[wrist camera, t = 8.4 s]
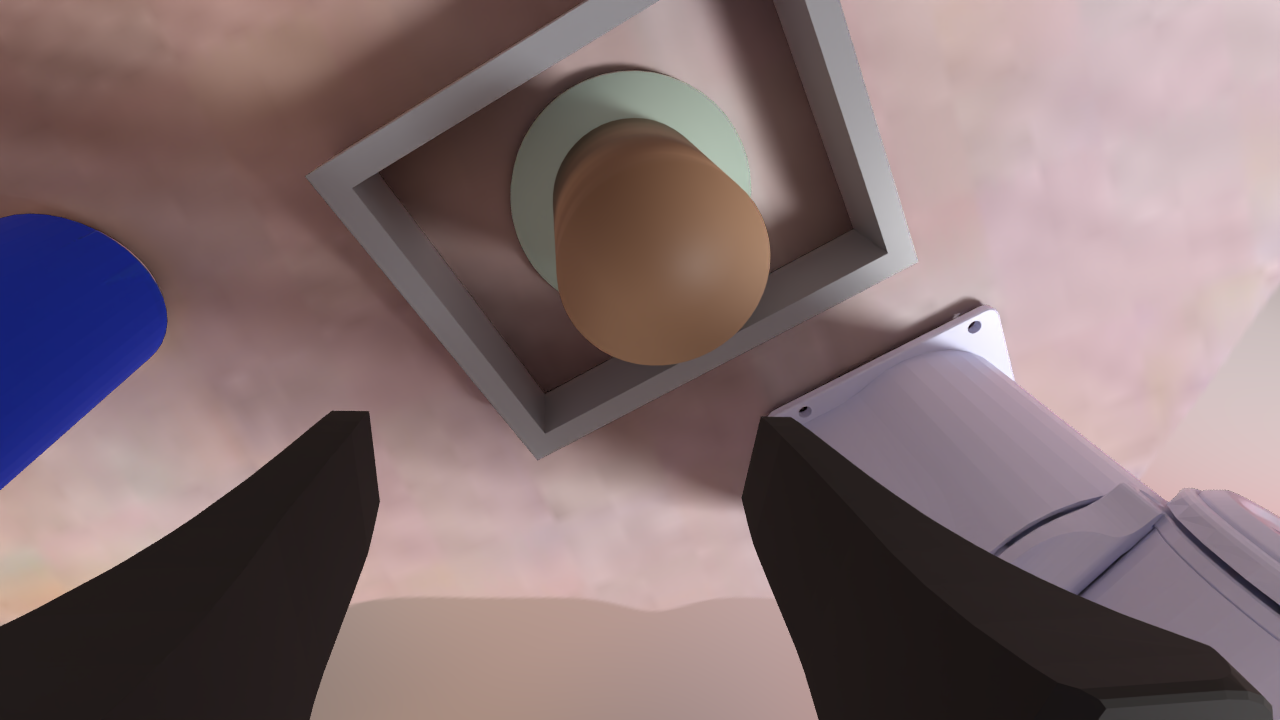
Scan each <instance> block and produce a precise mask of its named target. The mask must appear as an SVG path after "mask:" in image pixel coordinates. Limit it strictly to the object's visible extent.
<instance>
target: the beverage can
mask: <svg viewBox="0 0 1280 720" xmlns="http://www.w3.org/2000/svg"><path fill="white" fill-rule="evenodd" d="M166 328H167V310H166V306H165V302H164V299H163V296H162V293H161V291H160V289H159V287H158V285H157V282H156V280H155V279H154V277H153V276H152V274H151V273H150V271H149V270H148V268H147V267H146V266H145V265H144V264H143V263H142V261H141V260H140V259H139V258H138V257H137V256H136V255H134V254H133V253H132V252H131V251H130V250H129V249H127V248H126V247H125V246H123V245H122V244H121V243H119V242H118V241H116V240H114V239H113V238H111V237H109V236H107V235H105V234H104V233H102V232H100V231H98V230H95V229H93V228H91V227H89V226H86V225H84V224H82V223H79V222H76V221H72V220H69V219H66V218H62V217H57V216H51V215H44V214H18V215H11V216H7V217H3V218H0V490H1V489H2V488H3V487H4V486H6V485H7V484H8V483H9V482H10V481H11V480H12V479H13V478H15V477H16V476H17V475H18V474H19V473H20V472H21V471H23V470H24V469H25V468H26V467H27V466H28V465H29V464H30V463H32V462H33V461H34V460H35V459H36V458H37V457H38V456H39V455H41V454H42V453H43V452H44V451H45V450H46V449H47V448H49V447H50V446H51V445H52V444H53V443H54V442H55V441H56V440H58V439H59V438H60V437H61V436H62V435H63V434H64V433H66V432H67V431H68V430H69V429H70V428H71V427H72V426H73V425H75V424H76V423H77V422H78V421H79V420H80V419H81V418H83V417H84V416H85V415H86V414H87V413H88V412H89V411H90V410H92V409H93V408H94V407H95V406H96V405H97V404H98V403H99V402H101V401H102V400H103V399H104V398H105V397H106V396H107V395H109V394H110V393H111V392H112V391H113V390H114V389H115V388H116V387H118V386H119V385H120V384H121V383H122V382H123V381H124V380H126V379H127V378H128V377H129V376H130V375H131V374H132V373H133V372H135V371H136V370H137V369H138V368H139V367H140V366H141V365H142V364H144V363H145V362H146V361H147V360H148V359H149V358H150V357H151V356H152V355H153V354H154V353H155V352H156V351H157V350H158V348H159V347H160V345H161V344H162V342H163V339H164V336H165V334H166Z"/></svg>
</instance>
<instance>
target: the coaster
mask: <svg viewBox="0 0 1280 720" xmlns="http://www.w3.org/2000/svg"><path fill="white" fill-rule="evenodd" d="M626 118H643V119H649V120H654V121H657V122H660V123H663V124H665V125H667V126H669V127H671V128H673V129H675V130H676V131H678V132H679V133H680V134H682V135H683V136H684V137H685V138H687V139H688V140H689V141H690V142H691V143H692V144H693V145H694V146H695V147H697V148H698V149H699V150H700V151H701V152H702V153H703V154H704V155H706V156H707V157H708V158H709V159H710V160H711V161H712V162H713V163H714V164H716V165H717V166H718V167H719V168H720V169H721V170H722V171H723V172H725V173H726V174H727V175H728V176H729V177H730V178H731V179H732V180H733V181H735V182H736V183H737V184H738V185H739V186H740V187H741V188H742V189H743V190H744V191H745V192H746V193H747V194H748V195H749V197H750V198H751V180H750V170H749V165H748V160H747V156H746V153H745V150H744V147H743V145H742V142H741V140H740V138H739V136H738V134H737V132H736V130H735V128H734V127H733V125H732V124H731V122H730V121H729V119H728V118H727V116H726V115H725V114H724V113H723V112H722V111H721V110H720V108H719V107H718V106H717V105H716V104H715V103H714V102H713V101H711V100H710V99H709V98H708V97H707V96H705V95H704V94H703V93H702V92H700V91H698V90H697V89H695V88H693V87H692V86H690V85H688V84H687V83H685V82H682V81H680V80H678V79H675V78H673V77H670V76H667V75H663V74H659V73H655V72H650V71H640V70H626V71H615V72H610V73H605V74H601V75H598V76H595V77H592V78H589V79H586V80H584V81H582V82H580V83H578V84H576V85H574V86H572V87H570V88H569V89H568V90H566V91H565V92H563V93H562V94H560V95H559V96H558V97H556V98H555V99H554V100H553V101H552V102H551V103H550V104H549V105H548V106H547V107H546V108H544V110H543V111H542V112H541V113H540V114H539V116H538V117H537V118H536V119H535V121H534V122H533V123H532V125H531V127H530V128H529V130H528V132H527V133H526V135H525V137H524V139H523V141H522V144H521V146H520V148H519V151H518V153H517V157H516V160H515V164H514V168H513V173H512V181H511V211H512V219H513V223H514V227H515V230H516V234H517V237H518V239H519V242H520V244H521V246H522V249H523V251H524V252H525V254H526V256H527V258H528V259H529V261H530V263H531V264H532V265H533V267H534V268H535V269H536V270H537V272H538V273H539V274H540V275H541V276H542V277H543V278H544V279H545V280H546V281H547V282H548V283H549V284H550V285H551V286H552V287H553V288H555V289H556V290H557V291H559V290H558V283H557V274H556V255H555V236H554V217H553V190H554V183H555V179H556V176H557V172H558V170H559V168H560V166H561V163H562V161H563V160H564V158H565V156H566V155H567V153H568V152H569V151H570V149H571V148H572V147H573V146H574V144H575V143H576V142H578V141H579V140H580V139H581V138H582V137H583V136H584V135H586V134H587V133H588V132H590V131H591V130H593V129H595V128H597V127H599V126H600V125H603V124H605V123H608V122H611V121H615V120H619V119H626Z"/></svg>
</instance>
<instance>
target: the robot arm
mask: <svg viewBox="0 0 1280 720" xmlns="http://www.w3.org/2000/svg"><path fill="white" fill-rule="evenodd" d="M974 321H975V323H974V325H973V326H972V327H971V328H968V327H969V325H970V324H971V323H972V322H974ZM806 406H807V409H806V410H805V411H803V412H799V411H800V409H801V408H803V407H806ZM742 502H743V506H744V510H745V514H746V518H747V522H748V526H749V530H750V534H751V537H752V541H753V544H754V547H755V550H756V552H757V555H758V557H759V560H760V562H761V565H762V567H763V570H764V572H765V575H766V577H767V580H768V582H769V584H770V587H771V589H772V592H773V594H774V597H775V599H776V601H777V604H778V606H779V609H780V611H781V613H782V616H783V618H784V620H785V623H786V626H787V628H788V630H789V633H790V635H791V638H792V640H793V642H794V645H795V647H796V650H797V653H798V655H799V658H800V661H801V664H802V666H803V669H804V672H805V675H806V679H807V682H808V685H809V688H810V692H811V696H812V699H813V702H814V706H815V709H816V712H817V715H818V719H819V720H1280V517H1279V516H1277V515H1275V514H1274V513H1272V512H1270V511H1269V510H1267V509H1265V508H1263V507H1262V506H1260V505H1258V504H1256V503H1254V502H1252V501H1251V500H1249V499H1247V498H1245V497H1243V496H1241V495H1239V494H1236V493H1234V492H1232V491H1229V490H1203V491H1201V490H1198V489H1195V488H1184V489H1182V490H1180V491H1179V493H1178V494H1177V496H1175V497H1174V498H1173V499H1172V500H1171V501H1170V502H1168V501H1166V500H1164V499H1163V498H1162V497H1161V496H1159V495H1158V494H1157V493H1156V492H1154V491H1153V490H1152V489H1150V488H1149V487H1148V486H1147V485H1145V484H1144V483H1143V482H1141V481H1140V480H1139V479H1138V478H1136V477H1135V476H1134V475H1133V474H1131V473H1130V472H1129V471H1128V470H1126V469H1125V468H1124V467H1122V466H1121V465H1120V464H1119V463H1117V462H1116V461H1115V460H1114V459H1112V458H1111V457H1110V456H1109V455H1107V454H1106V453H1105V452H1103V451H1102V450H1101V449H1100V448H1098V447H1097V446H1096V445H1095V444H1093V443H1092V442H1091V441H1089V440H1088V439H1087V438H1086V437H1084V436H1083V435H1082V434H1081V433H1079V432H1078V431H1077V430H1075V429H1074V428H1073V427H1072V426H1070V425H1069V424H1068V423H1067V422H1065V421H1064V420H1063V419H1062V418H1060V417H1059V416H1058V415H1056V414H1055V413H1054V412H1053V411H1051V410H1050V409H1049V408H1048V407H1046V406H1045V405H1044V404H1042V403H1041V402H1040V401H1039V400H1037V399H1036V398H1035V397H1034V396H1032V395H1031V394H1030V393H1028V392H1027V391H1026V390H1025V389H1023V388H1022V387H1021V386H1020V385H1018V384H1017V383H1016V382H1015V379H1014V375H1013V371H1012V367H1011V363H1010V358H1009V354H1008V350H1007V346H1006V341H1005V337H1004V333H1003V329H1002V325H1001V320H1000V316H999V313H998V311H997V310H995V309H994V308H992V307H991V306H989V305H983V306H980V307H977V308H975V309H973V310H971V311H969V312H967V313H965V314H963V315H961V316H959V317H958V318H956V319H954V320H952V321H950V322H948V323H946V324H944V325H942V326H940V327H938V328H936V329H934V330H932V331H930V332H928V333H926V334H924V335H922V336H920V337H918V338H916V339H914V340H912V341H910V342H908V343H906V344H904V345H902V346H900V347H898V348H896V349H894V350H892V351H890V352H888V353H886V354H884V355H882V356H880V357H878V358H876V359H874V360H872V361H870V362H868V363H866V364H864V365H862V366H860V367H858V368H856V369H855V370H853V371H851V372H849V373H847V374H845V375H843V376H841V377H839V378H837V379H835V380H833V381H831V382H829V383H827V384H825V385H823V386H821V387H819V388H817V389H815V390H813V391H811V392H809V393H807V394H805V395H803V396H801V397H799V398H797V399H795V400H793V401H791V402H789V403H787V404H785V405H783V406H781V407H779V408H777V409H775V410H774V411H772V412H771V413H770V414H769V416H768V417H761V419H760V423H759V427H758V431H757V435H756V440H755V444H754V448H753V452H752V457H751V461H750V465H749V469H748V473H747V478H746V482H745V486H744V490H743V494H742ZM379 503H380V500H379V491H378V483H377V474H376V466H375V458H374V449H373V441H372V432H371V424H370V416H369V411H331V412H330V413H329V414H327V415H326V416H325V417H323V418H322V419H321V420H320V421H318V422H317V423H316V424H315V425H314V426H312V427H311V428H310V429H309V430H307V431H306V432H305V433H304V434H303V435H301V436H300V437H299V438H298V439H297V440H295V441H294V442H293V443H292V444H291V445H289V446H288V447H287V448H286V449H284V450H283V451H282V452H281V453H279V454H278V455H277V456H276V457H274V458H273V459H272V460H271V461H269V462H268V463H267V464H266V465H264V466H263V467H262V468H261V469H259V470H258V471H257V472H255V473H254V474H253V475H252V476H250V477H249V478H248V479H247V480H245V481H244V482H242V483H241V484H240V485H238V486H237V487H235V488H234V489H233V490H231V491H230V492H229V493H227V494H226V495H224V496H223V497H222V498H220V499H219V500H217V501H216V502H215V503H213V504H212V505H210V506H209V507H208V508H206V509H205V510H204V511H202V512H201V513H199V514H198V515H197V516H195V517H194V518H192V519H191V520H189V521H188V522H186V523H185V524H183V525H182V526H180V527H179V528H177V529H176V530H174V531H173V532H171V533H170V534H168V535H166V536H165V537H163V538H162V539H160V540H159V541H157V542H155V543H154V544H152V545H150V546H149V547H147V548H145V549H144V550H142V551H140V552H139V553H137V554H135V555H134V556H132V557H131V558H129V559H127V560H126V561H124V562H122V563H120V564H119V565H117V566H115V567H113V568H112V569H110V570H108V571H106V572H104V573H103V574H101V575H99V576H97V577H95V578H93V579H91V580H89V581H88V582H86V583H84V584H82V585H80V586H78V587H76V588H74V589H73V590H71V591H69V592H67V593H65V594H63V595H61V596H60V597H58V598H56V599H54V600H52V601H50V602H48V603H46V604H45V605H43V606H41V607H39V608H37V609H35V610H33V611H31V612H29V613H27V614H25V615H23V616H21V617H19V618H17V619H15V620H13V621H11V622H9V623H7V624H4V625H2V626H0V720H310V716H311V712H312V708H313V704H314V701H315V698H316V694H317V691H318V688H319V685H320V682H321V679H322V676H323V673H324V670H325V668H326V665H327V662H328V660H329V657H330V654H331V652H332V649H333V646H334V644H335V641H336V638H337V635H338V633H339V630H340V627H341V625H342V622H343V619H344V617H345V614H346V612H347V609H348V606H349V604H350V601H351V598H352V596H353V593H354V590H355V588H356V585H357V582H358V579H359V577H360V574H361V571H362V569H363V566H364V563H365V560H366V557H367V555H368V551H369V547H370V543H371V539H372V534H373V530H374V526H375V521H376V517H377V512H378V507H379Z"/></svg>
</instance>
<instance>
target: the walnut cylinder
mask: <svg viewBox="0 0 1280 720" xmlns="http://www.w3.org/2000/svg"><path fill="white" fill-rule="evenodd" d="M553 217H554V236H555V255H556V274H557V283H558V290H559V294H560V297H561V301H562V304H563V306H564V308H565V310H566V313H567V315H568V316H569V318H570V320H571V321H572V323H573V325H574V326H575V327H576V328H577V330H578V331H579V332H580V333H581V334H582V335H583V336H584V337H585V338H586V339H587V340H588V341H589V342H590V343H591V344H593V345H594V346H596V347H597V348H598V349H600V350H601V351H603V352H605V353H607V354H609V355H611V356H612V357H615V358H618V359H620V360H623V361H626V362H631V363H635V364H641V365H671V364H677V363H682V362H686V361H689V360H692V359H695V358H698V357H701V356H703V355H705V354H707V353H709V352H711V351H713V350H714V349H716V348H718V347H719V346H721V345H722V344H724V343H725V342H726V341H727V340H729V339H730V338H731V337H733V336H734V335H735V334H736V333H737V332H738V331H739V330H740V329H741V328H742V327H743V325H744V324H745V323H746V322H747V320H748V319H749V318H750V317H751V315H752V314H753V312H754V310H755V309H756V307H757V305H758V303H759V301H760V299H761V297H762V295H763V293H764V289H765V286H766V283H767V280H768V274H769V269H770V243H769V237H768V233H767V228H766V226H765V223H764V220H763V218H762V215H761V214H760V212H759V210H758V208H757V206H756V205H755V203H754V202H753V201H752V199H751V198H750V197H749V195H748V194H747V193H746V192H745V191H744V190H743V189H742V188H741V187H740V186H739V185H738V184H737V183H736V182H735V181H733V180H732V179H731V178H730V177H729V176H728V175H727V174H726V173H725V172H723V171H722V170H721V169H720V168H719V167H718V166H717V165H716V164H714V163H713V162H712V161H711V160H710V159H709V158H708V157H707V156H706V155H704V154H703V153H702V152H701V151H700V150H699V149H698V148H697V147H695V146H694V145H693V144H692V143H691V142H690V141H689V140H688V139H687V138H685V137H684V136H683V135H682V134H680V133H679V132H678V131H676V130H675V129H673V128H671V127H669V126H667V125H665V124H663V123H660V122H657V121H654V120H649V119H643V118H626V119H619V120H615V121H611V122H608V123H605V124H603V125H600V126H599V127H597V128H595V129H593V130H591V131H590V132H588V133H587V134H586V135H584V136H583V137H582V138H581V139H580V140H579V141H578V142H576V143H575V144H574V146H573V147H572V148H571V149H570V151H569V152H568V153H567V155H566V156H565V158H564V160H563V161H562V163H561V166H560V168H559V170H558V172H557V176H556V179H555V183H554V190H553Z"/></svg>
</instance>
